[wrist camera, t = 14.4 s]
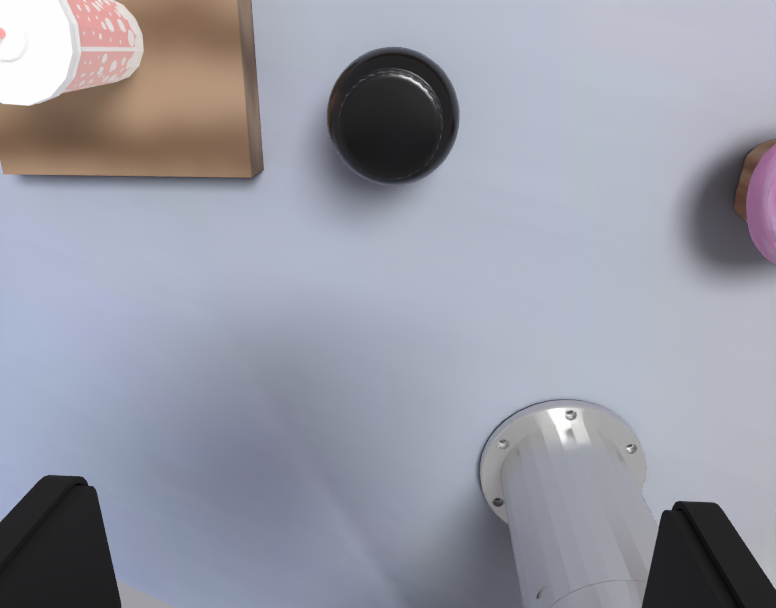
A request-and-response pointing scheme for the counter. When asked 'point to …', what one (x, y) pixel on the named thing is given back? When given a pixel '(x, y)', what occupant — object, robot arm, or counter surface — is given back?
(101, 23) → the beverage cup
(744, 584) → the robot arm
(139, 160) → the walnut base
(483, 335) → the counter surface
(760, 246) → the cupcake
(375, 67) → the supplement bottle
